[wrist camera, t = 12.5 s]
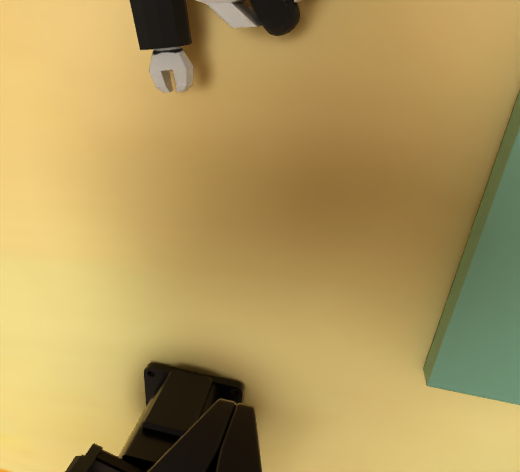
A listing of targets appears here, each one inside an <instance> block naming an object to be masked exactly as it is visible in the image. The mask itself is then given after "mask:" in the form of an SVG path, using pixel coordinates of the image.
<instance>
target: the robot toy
mask: <svg viewBox="0 0 520 472" xmlns="http://www.w3.org/2000/svg"><path fill="white" fill-rule="evenodd" d="M196 1H199V2H202V3H205V4H207V5H208V6H209V7H210V8H211V9H212V10H214V11H215V12H216V13H217V14H218V15H219V16H220V17H221V18H222V19H223V20H224V21H225V22H226V23H227V24H229V25H230V26H231V27H232V28H243V27H258V26H260V25H263V27H264V28H265V29H266V30H267V32H268V33H269V34H271V35H275V36H280V35H284V34H286V33H288V32H290V31H291V30H292V29H294V28H295V26H296V25H297V23H298V21H299V18H300V12H299V8H298V5H297V2H301V0H250V2H251V4H252V7H253V9H254V10H253V9H252V8H251V7H250V6H249V5H248V4H247V3H246V1H248V0H196ZM130 4H131V8H132V13H133V18H134V23H135V27H136V32H137V37H138V42H139V46H140V50H148V49H154V51H153V54H152V58H151V63H150V67H149V72H150V74H151V77H152V79H153V82H154V84H155V86H156V88H157V89H159V90H160V91H162V92H163V93H166V92H171V91H173V87H172V82H171V76H170V70H173V73H174V78H175V83H176V92H182V91H186V90H188V89H189V88H190V87H191V85H192V84H193V68H194V67H193V65H192V64H191V62H190V60H189V59H188V57H187V55H186V54H185V52H184V51H183V49H182V48H181V47H180V46H184V45H189V44H191V43H192V40H191V33H190V27H189V20H188V14H187V7H186V1H185V0H130Z"/></svg>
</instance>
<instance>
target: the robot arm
mask: <svg viewBox="0 0 520 472" xmlns="http://www.w3.org/2000/svg"><path fill="white" fill-rule="evenodd" d="M152 371H153V372H152ZM144 380H145V393H146V408H145V410H144V412H143V414H142V415H141V417H140V419H139V421H138V422H137V424H136V426H135V428H134V430H133V431H132V433H131V435H130V437H129V439H128V440H127V442H126V444H125V446H124V447H123V449H122V451H121V453H120V455H119V456H118V457H117V456H115V455H113V454H111V453H109V452H107V451H104V450H102V449H103V447H101V446H99V445H97V444H95V443H94V444H93V445H92V446H91V448H90V449H89V451H88V452H87V453H86V455H85V456H84V455H81V456H75V458H74V459H73V461H72V462H71V464H70V465H69V467H68V468H67V470H66V471H65V472H262V466H261V458H260V449H259V441H258V432H257V424H256V415H255V408H254V407H253V406H251V405H247V404H243V398H244V387H243V385H242V384H241V383H239V382H235V381H231V380H226V379H222V378H217V377H213V376H208V375H204V374H199V373H194V372H190V371H185V370H181V369H176V368H172V367H167V366H162V365H158V364H153V363H150V364H148V365H147V367H146V368H145V370H144ZM234 389H235V390H234ZM236 390H237V391H236Z"/></svg>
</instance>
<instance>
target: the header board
mask: <svg viewBox="0 0 520 472" xmlns="http://www.w3.org/2000/svg"><path fill="white" fill-rule="evenodd" d="M423 370H424V375H425V380H426V385H427V386H430V387H435V388H440V389H444V390H449V391H454V392H459V393H464V394H469V395H474V396H478V397H483V398H488V399H493V400H498V401H503V402H508V403H512V404H517V405H520V91H519V94H518V97H517V100H516V103H515V106H514V109H513V112H512V114H511V117H510V120H509V123H508V126H507V129H506V132H505V135H504V138H503V140H502V143H501V146H500V149H499V152H498V155H497V158H496V161H495V164H494V166H493V169H492V172H491V175H490V178H489V181H488V184H487V187H486V190H485V193H484V195H483V198H482V201H481V204H480V207H479V210H478V213H477V216H476V219H475V221H474V224H473V227H472V230H471V233H470V236H469V239H468V242H467V245H466V247H465V250H464V253H463V256H462V259H461V262H460V265H459V268H458V271H457V273H456V276H455V279H454V282H453V285H452V288H451V291H450V294H449V297H448V299H447V302H446V305H445V308H444V311H443V314H442V317H441V320H440V323H439V326H438V328H437V331H436V334H435V337H434V340H433V343H432V346H431V349H430V352H429V354H428V357H427V360H426V363H425V366H424V369H423Z"/></svg>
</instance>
